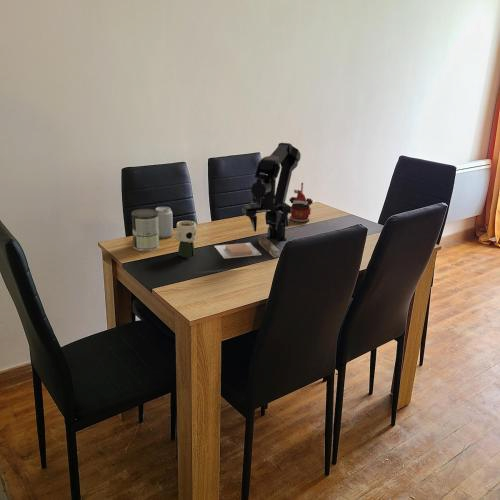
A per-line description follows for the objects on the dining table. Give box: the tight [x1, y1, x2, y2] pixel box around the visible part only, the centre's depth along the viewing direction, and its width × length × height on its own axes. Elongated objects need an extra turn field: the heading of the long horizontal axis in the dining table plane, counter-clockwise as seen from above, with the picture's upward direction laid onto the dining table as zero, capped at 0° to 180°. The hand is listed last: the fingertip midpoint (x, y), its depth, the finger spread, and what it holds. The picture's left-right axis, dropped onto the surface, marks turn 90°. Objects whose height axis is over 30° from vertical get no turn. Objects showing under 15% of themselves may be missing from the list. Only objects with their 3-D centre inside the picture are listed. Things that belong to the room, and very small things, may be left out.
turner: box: [258, 236, 280, 258], centre depth 198 cm, size 2×16×4 cm, turn 20°
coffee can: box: [130, 208, 160, 252], centre depth 198 cm, size 10×10×14 cm
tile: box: [224, 242, 252, 257], centre depth 196 cm, size 8×2×9 cm
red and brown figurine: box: [289, 182, 313, 223], centre depth 237 cm, size 11×9×18 cm
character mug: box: [175, 220, 197, 258], centre depth 190 cm, size 11×7×13 cm, turn 145°
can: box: [155, 206, 174, 239], centre depth 210 cm, size 8×8×12 cm
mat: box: [214, 242, 263, 260], centre depth 197 cm, size 15×14×1 cm
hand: (265, 230), depth 199 cm, fingers open, 9 cm apart
